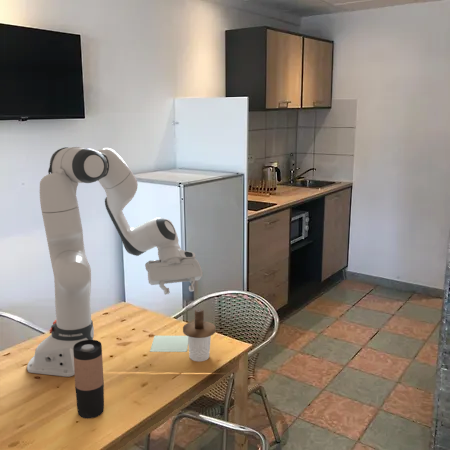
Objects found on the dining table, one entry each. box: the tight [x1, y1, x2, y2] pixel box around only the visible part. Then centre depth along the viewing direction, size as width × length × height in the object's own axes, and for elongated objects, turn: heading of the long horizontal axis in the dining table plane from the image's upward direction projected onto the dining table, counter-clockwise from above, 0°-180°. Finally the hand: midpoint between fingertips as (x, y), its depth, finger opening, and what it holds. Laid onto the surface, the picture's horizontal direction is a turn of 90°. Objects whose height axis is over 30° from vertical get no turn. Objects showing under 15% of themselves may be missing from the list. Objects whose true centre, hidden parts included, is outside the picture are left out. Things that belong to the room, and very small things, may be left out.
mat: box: [149, 335, 189, 353], centre depth 181 cm, size 13×13×1 cm
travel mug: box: [73, 339, 105, 420], centre depth 138 cm, size 8×8×20 cm
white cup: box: [188, 335, 212, 362], centre depth 171 cm, size 8×8×10 cm
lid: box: [182, 308, 216, 338], centre depth 169 cm, size 11×11×7 cm
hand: (179, 292), depth 180 cm, fingers open, 8 cm apart
